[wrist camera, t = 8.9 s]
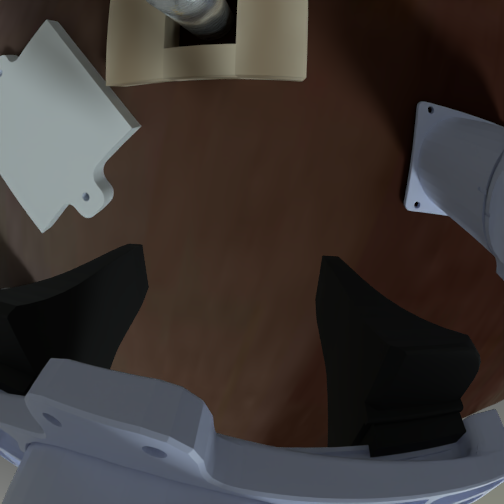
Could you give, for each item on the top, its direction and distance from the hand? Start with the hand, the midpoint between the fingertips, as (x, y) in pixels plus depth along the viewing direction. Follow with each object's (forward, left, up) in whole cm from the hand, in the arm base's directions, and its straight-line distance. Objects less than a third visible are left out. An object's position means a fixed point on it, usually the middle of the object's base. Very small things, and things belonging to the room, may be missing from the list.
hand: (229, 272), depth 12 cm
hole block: (+3, -12, -10) cm, 16 cm away
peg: (+3, -12, -10) cm, 16 cm away
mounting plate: (+17, -6, -11) cm, 21 cm away
